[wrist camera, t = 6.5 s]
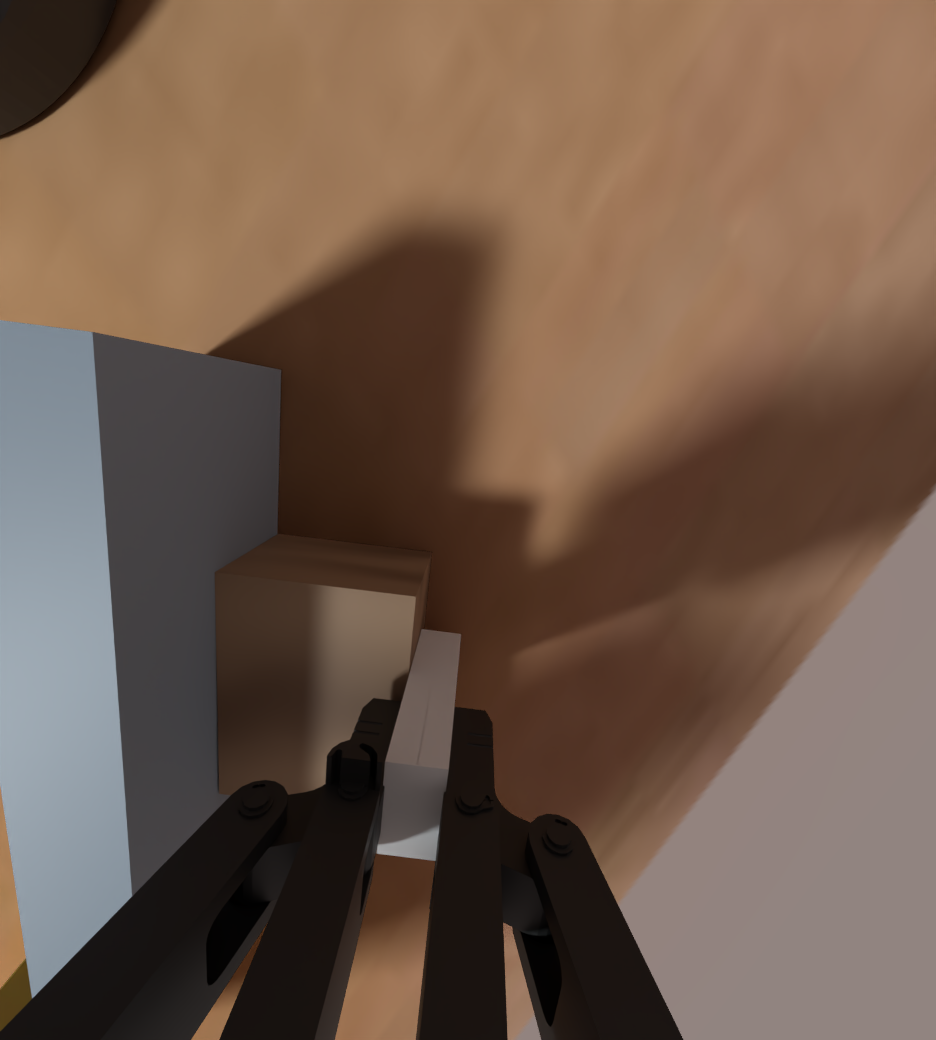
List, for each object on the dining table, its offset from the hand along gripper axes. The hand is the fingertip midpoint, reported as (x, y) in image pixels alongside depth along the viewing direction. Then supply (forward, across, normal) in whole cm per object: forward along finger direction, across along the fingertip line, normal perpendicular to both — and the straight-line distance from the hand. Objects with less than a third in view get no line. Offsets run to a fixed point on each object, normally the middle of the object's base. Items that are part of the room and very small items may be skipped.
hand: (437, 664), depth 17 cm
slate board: (+1, -8, 0) cm, 8 cm away
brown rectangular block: (+2, -4, 0) cm, 4 cm away
